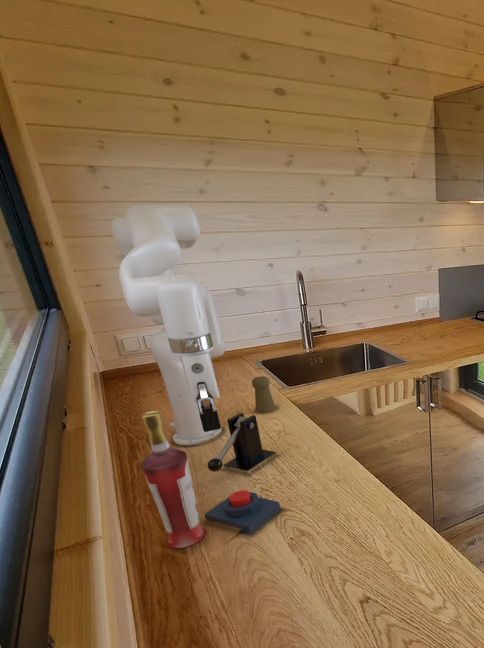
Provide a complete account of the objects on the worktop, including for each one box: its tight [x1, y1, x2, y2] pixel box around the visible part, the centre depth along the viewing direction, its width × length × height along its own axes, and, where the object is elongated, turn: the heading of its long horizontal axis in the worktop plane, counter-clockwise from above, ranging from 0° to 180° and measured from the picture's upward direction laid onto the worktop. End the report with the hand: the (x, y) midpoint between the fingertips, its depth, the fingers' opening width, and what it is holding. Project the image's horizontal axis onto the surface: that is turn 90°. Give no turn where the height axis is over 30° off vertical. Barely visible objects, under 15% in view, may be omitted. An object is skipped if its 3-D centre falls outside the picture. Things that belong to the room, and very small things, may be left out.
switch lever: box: [207, 416, 247, 473], centre depth 119 cm, size 15×3×3 cm
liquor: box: [140, 410, 207, 549], centre depth 92 cm, size 7×7×28 cm
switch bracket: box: [222, 412, 277, 472], centre depth 124 cm, size 10×8×13 cm
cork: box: [251, 375, 276, 414], centre depth 156 cm, size 6×6×11 cm
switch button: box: [228, 490, 251, 507], centre depth 103 cm, size 4×4×2 cm
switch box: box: [204, 491, 282, 536], centre depth 104 cm, size 12×9×4 cm
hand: (210, 421), depth 104 cm, fingers open, 9 cm apart
